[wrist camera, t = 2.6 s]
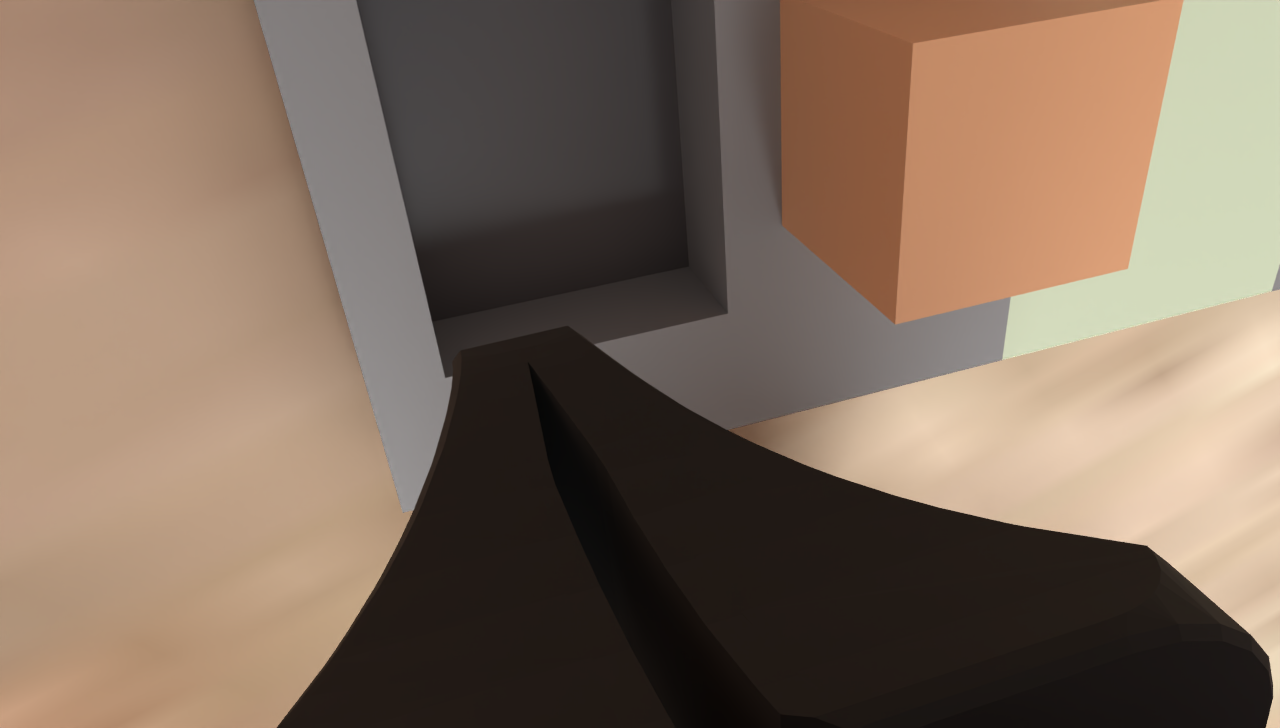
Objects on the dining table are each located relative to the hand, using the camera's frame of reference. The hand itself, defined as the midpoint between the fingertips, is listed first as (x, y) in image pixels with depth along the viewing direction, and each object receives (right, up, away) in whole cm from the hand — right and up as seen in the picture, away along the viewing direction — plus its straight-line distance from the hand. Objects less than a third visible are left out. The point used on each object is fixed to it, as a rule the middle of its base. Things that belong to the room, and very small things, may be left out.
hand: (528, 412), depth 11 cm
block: (+6, +6, +8) cm, 11 cm away
